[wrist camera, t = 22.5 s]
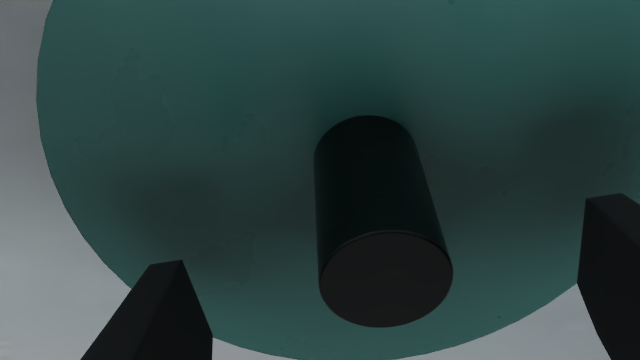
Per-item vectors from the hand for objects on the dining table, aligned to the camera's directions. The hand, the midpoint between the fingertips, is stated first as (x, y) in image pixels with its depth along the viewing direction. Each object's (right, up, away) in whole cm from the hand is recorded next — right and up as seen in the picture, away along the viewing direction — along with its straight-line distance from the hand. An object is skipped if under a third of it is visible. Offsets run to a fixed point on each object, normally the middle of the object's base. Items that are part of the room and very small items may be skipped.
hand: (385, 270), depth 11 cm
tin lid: (0, +2, +3) cm, 4 cm away
